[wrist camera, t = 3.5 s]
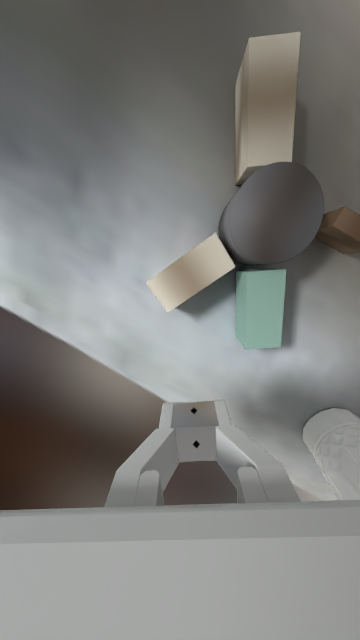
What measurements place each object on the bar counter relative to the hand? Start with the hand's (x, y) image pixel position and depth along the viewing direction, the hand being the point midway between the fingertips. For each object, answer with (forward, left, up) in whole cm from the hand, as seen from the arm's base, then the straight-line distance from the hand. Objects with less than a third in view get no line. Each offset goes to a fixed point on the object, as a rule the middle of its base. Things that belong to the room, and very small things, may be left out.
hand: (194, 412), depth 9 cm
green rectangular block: (+4, +6, -10) cm, 12 cm away
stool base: (+2, +12, -11) cm, 16 cm away
